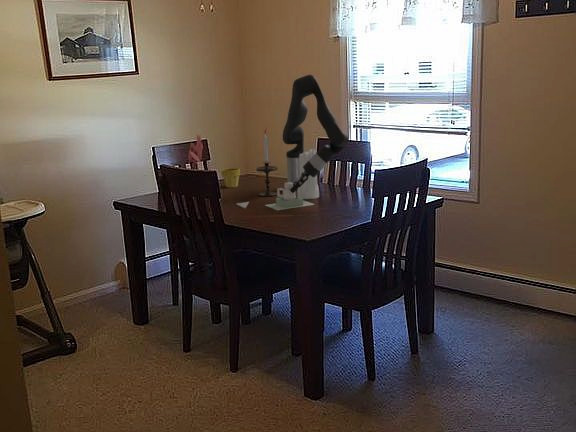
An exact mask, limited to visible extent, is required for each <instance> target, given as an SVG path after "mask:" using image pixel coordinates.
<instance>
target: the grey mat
mask: <svg viewBox="0 0 576 432" xmlns="http://www.w3.org/2000/svg"><path fill="white" fill-rule="evenodd" d="M249 203H250V201H246V202H237V203H236V206H237V207H241V208H242V209H246V208H247V206H248V205H249Z"/></svg>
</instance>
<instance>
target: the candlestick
mask: <svg viewBox="0 0 576 432" xmlns="http://www.w3.org/2000/svg"><path fill="white" fill-rule="evenodd" d="M263 132H264V135H263V154H264V162H263V164H264V166H259V167H256V171H257V172H263V173H264V174H265V180H264V183H265V187H266V190H265V191H264V192H260V193H259V197H261V198H273V197H277V191H276V192H275V191H271V190H270V187H271V185H270V183H271V180H270V179H269V173H271V172H274V171H277V170H278V166H276V165H269V164H271V162H269V150H268V149H269V147H268V145H269V144H268V136H267V134H266V132H267V128H265V129H264V131H263Z"/></svg>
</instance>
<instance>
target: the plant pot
mask: <svg viewBox="0 0 576 432" xmlns="http://www.w3.org/2000/svg"><path fill="white" fill-rule="evenodd" d="M220 172H221V177H223V182H224V185H225V188H237V187H238V186H239V178H240V175H241V169H240V168H238V167H230V168H229V167H228V168H224V169H221V171H220Z"/></svg>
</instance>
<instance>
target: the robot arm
mask: <svg viewBox="0 0 576 432" xmlns="http://www.w3.org/2000/svg"><path fill="white" fill-rule="evenodd" d="M291 90H292V92H291V99H290V105H289V108H288V113H287V117H286V118H287V119H286V121H285V124H284V127H283V130H282V141H283V143H284V144H286V145H296V146H294V147H293V148H292V149H290V150H287V151H286V155H285V156H286V170H287V171H286V173H287V174H286V175H287V176H286V177H287V182H292V183H293V187H292V188H291V189H290V191H291V192H292V193H294V192H295V193H296V191H298V188H300V187H301V185H303V184H304V183H305V182H306V181H307V180H308V177H309V176H310V175H311V176H312V177H315V176H316V175H317V176H318V174H320V172H321V171H322V170H323V169H324V168H325V167H326V166H327V164H328V163H329V162H330V161H331V160H332V159H333V157H335V156H336V155H337V154H339V153H340V152H341V151H343V150H344V149H345V148H346V147H347V145H348V144H349V137H348V135H347V134H346V133H344V132H343V131H342V129H341V128H340V126H339V123H338V121H337V119H336V117H335V116H334V114H333V113H332V111H331V109H330V107H329V105H328V103H327V101H326V98H325V95H324V94H323V91H322V89H321V87H320V84H319V82H318V81H317V78H316V77H315V75H313V74H306V75H303V76H301V77H299V78H296V79H295V80H294V81H293V83H292V89H291ZM311 95H314V97H315V98H316V116H317V119H318V121H319V123H320V125H321V127H322V128H323V130H324V131H325V134H326V136H327V138H328V139H329V143H327V144H324V145H323V146H322V147H320V148H319V150H317V152H315V155H313V156H312V157H311V158H310V160H309V161H308V162H307V163H306V164H305V165H304V166H303V169H304V170H305V171H304V172H302V173H301V174H300V165H299V155H300V154H302V153H303V152H304V151H305V150H304V148H305V147H304V146H305V143H304V142H305V139H304V138H305V137H304V135H305V134H304V129H303V127H302V126H300V125H302V124H303V123H304V122H305V120H306V119H307V114H308V106H307V104H306V103H305V101H304V100H303V99H304V98H306V97H308V96H311ZM299 174H300V176H299Z"/></svg>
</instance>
